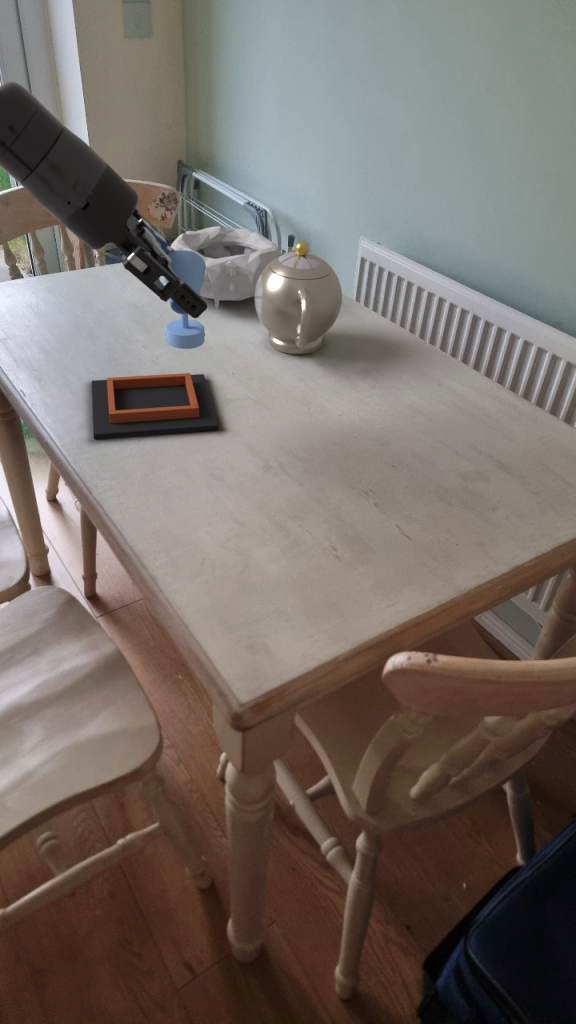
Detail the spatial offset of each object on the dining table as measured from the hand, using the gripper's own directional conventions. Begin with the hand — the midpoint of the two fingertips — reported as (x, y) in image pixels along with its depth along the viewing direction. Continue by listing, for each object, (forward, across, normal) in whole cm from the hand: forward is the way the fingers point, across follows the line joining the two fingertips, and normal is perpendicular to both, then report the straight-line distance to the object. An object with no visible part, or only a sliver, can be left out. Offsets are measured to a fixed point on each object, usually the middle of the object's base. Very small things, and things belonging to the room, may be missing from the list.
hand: (197, 298), depth 80 cm
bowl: (+20, -44, -6) cm, 49 cm away
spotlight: (+3, 0, -5) cm, 5 cm away
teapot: (+26, -22, 0) cm, 34 cm away
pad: (+9, -7, -17) cm, 20 cm away
